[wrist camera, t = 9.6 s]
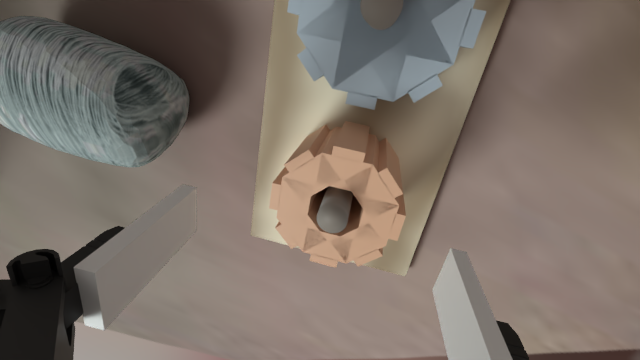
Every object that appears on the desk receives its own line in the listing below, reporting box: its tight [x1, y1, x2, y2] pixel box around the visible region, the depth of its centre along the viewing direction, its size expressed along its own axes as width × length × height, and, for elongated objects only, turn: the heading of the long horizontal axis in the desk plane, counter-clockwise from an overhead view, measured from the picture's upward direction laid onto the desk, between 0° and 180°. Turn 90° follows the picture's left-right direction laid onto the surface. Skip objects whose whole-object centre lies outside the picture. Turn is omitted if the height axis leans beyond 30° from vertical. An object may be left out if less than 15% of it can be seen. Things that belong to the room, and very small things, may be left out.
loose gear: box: [269, 121, 406, 268], centre depth 22 cm, size 8×8×6 cm
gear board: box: [251, 0, 510, 276], centre depth 20 cm, size 14×24×8 cm, turn 170°
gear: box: [287, 0, 486, 110], centre depth 19 cm, size 10×10×3 cm
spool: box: [0, 16, 189, 167], centre depth 22 cm, size 14×10×10 cm
